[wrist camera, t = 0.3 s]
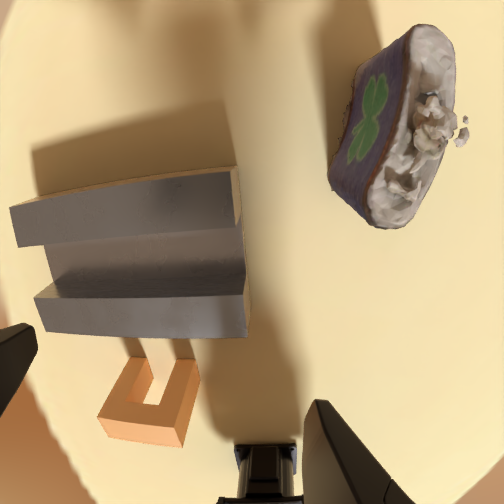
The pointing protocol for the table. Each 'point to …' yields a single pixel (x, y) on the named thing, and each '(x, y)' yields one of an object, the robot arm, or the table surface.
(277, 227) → the table surface
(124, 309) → the rail
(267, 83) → the table surface
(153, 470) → the table surface
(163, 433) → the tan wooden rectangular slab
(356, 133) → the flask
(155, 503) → the table surface
